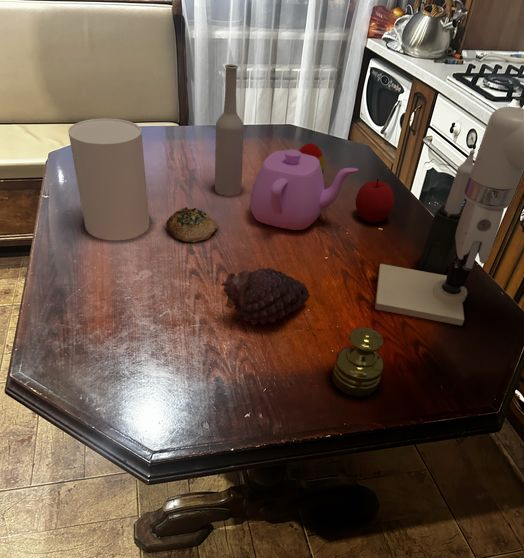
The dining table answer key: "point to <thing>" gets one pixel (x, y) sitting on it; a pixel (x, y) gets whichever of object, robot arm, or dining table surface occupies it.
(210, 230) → the bread roll
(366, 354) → the brass cabinet knob
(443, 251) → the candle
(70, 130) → the canister
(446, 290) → the dark round knob center
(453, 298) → the white base plate
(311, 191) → the teapot
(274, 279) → the pine cone
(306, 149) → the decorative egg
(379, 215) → the apple
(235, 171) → the bottle
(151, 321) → the dining table surface
